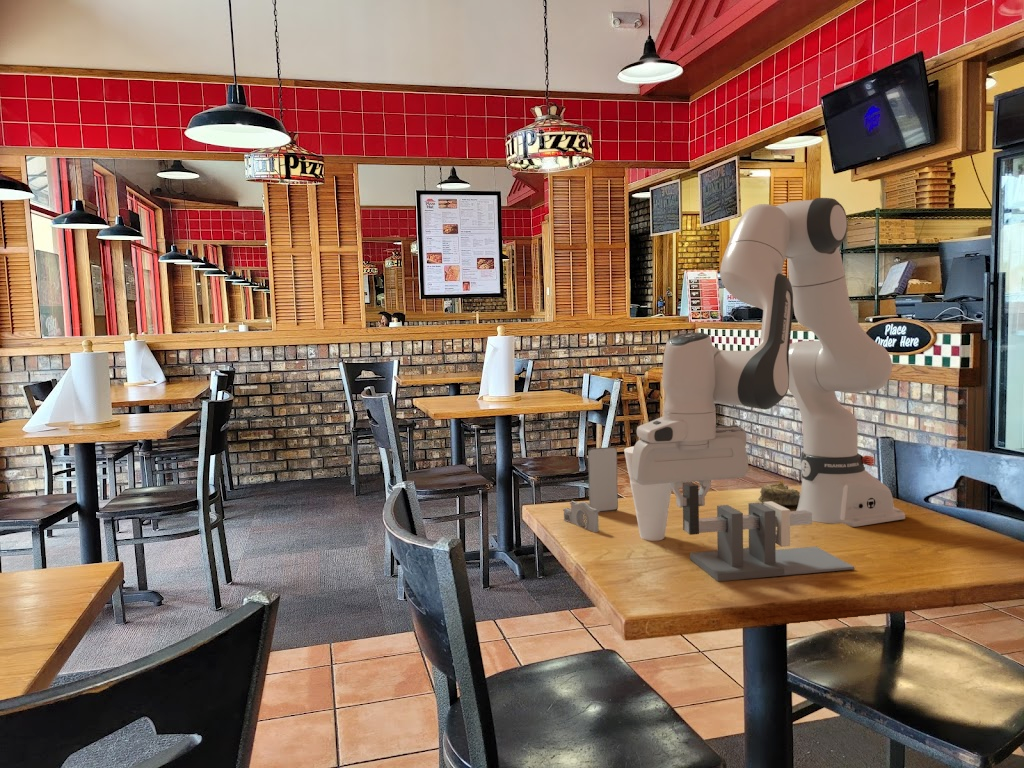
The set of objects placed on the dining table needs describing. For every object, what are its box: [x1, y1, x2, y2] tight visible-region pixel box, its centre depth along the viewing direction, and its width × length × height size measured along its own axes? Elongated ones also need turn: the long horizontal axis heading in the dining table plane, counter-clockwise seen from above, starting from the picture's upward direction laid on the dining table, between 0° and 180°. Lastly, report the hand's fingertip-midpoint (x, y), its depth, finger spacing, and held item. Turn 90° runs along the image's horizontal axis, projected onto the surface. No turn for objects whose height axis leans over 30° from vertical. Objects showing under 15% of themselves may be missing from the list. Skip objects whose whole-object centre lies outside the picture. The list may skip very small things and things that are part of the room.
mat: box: [776, 546, 855, 576], centre depth 135 cm, size 13×12×1 cm
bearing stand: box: [689, 502, 785, 582], centre depth 132 cm, size 12×12×10 cm
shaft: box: [682, 481, 813, 536], centre depth 132 cm, size 23×3×8 cm, turn 99°
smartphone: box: [587, 446, 619, 513], centre depth 173 cm, size 7×1×15 cm, turn 106°
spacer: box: [763, 501, 791, 548], centre depth 133 cm, size 2×6×6 cm, turn 9°
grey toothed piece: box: [562, 500, 601, 533], centre depth 161 cm, size 12×2×6 cm, turn 29°
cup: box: [623, 445, 673, 542], centre depth 152 cm, size 11×11×18 cm
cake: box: [758, 479, 801, 506], centre depth 177 cm, size 10×10×5 cm
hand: (690, 506), depth 131 cm, fingers closed on shaft, 2 cm apart
